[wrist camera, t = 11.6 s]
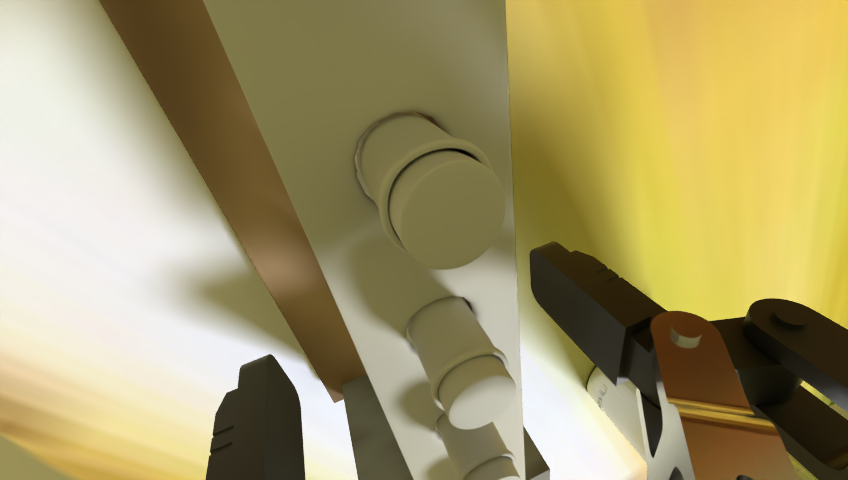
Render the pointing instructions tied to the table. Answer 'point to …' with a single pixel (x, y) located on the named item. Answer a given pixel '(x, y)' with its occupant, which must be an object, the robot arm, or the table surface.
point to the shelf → (261, 209)
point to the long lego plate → (402, 203)
